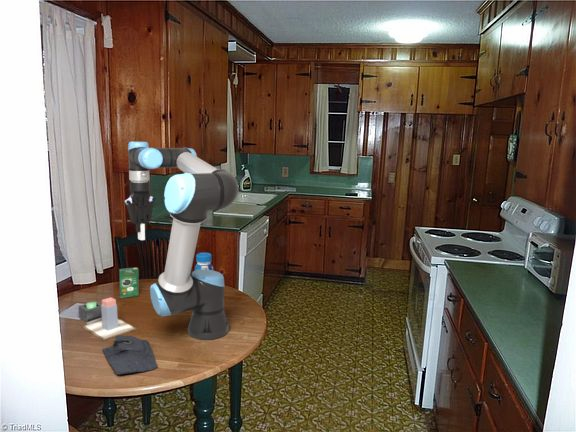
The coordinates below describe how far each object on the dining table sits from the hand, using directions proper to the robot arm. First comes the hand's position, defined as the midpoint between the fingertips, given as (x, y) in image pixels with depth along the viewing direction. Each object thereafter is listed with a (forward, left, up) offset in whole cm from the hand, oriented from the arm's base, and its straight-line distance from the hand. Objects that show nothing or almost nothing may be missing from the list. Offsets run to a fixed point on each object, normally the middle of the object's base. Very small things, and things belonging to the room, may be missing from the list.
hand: (141, 239), depth 173 cm
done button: (+8, +18, -29) cm, 35 cm away
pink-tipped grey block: (-6, +18, -30) cm, 35 cm away
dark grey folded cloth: (-31, +24, -31) cm, 50 cm away
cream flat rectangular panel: (-5, +18, -30) cm, 36 cm away
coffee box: (+18, -4, -31) cm, 36 cm away
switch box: (+8, +18, -30) cm, 36 cm away
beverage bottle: (-6, -27, -31) cm, 41 cm away
